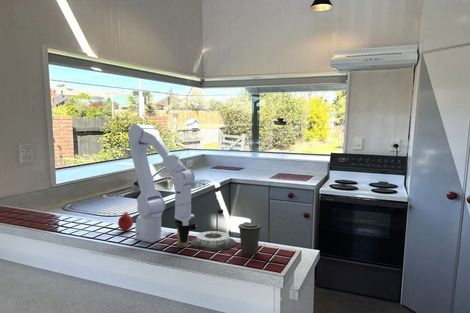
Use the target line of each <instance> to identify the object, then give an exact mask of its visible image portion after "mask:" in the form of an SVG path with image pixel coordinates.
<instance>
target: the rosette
mask: <svg viewBox="0 0 470 313" xmlns="http://www.w3.org/2000/svg"><path fill="white" fill-rule="evenodd" d="M236 245H237V242H236V240H235V239H233V238H231V237H230V234H228V233H227V232H223V231H219V230H217V231H215V230H214V231H213V230H211V231H209V230H208V231H203V232H200V233H198V234H196V238H193V239H192V240H190V247H192V248H194V249H197V250H201V251H207V252H208V251H210V252H214V251H215V252H216V251H217V252H218V251H225V250H229V249H232V248H234V247H236Z"/></svg>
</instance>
